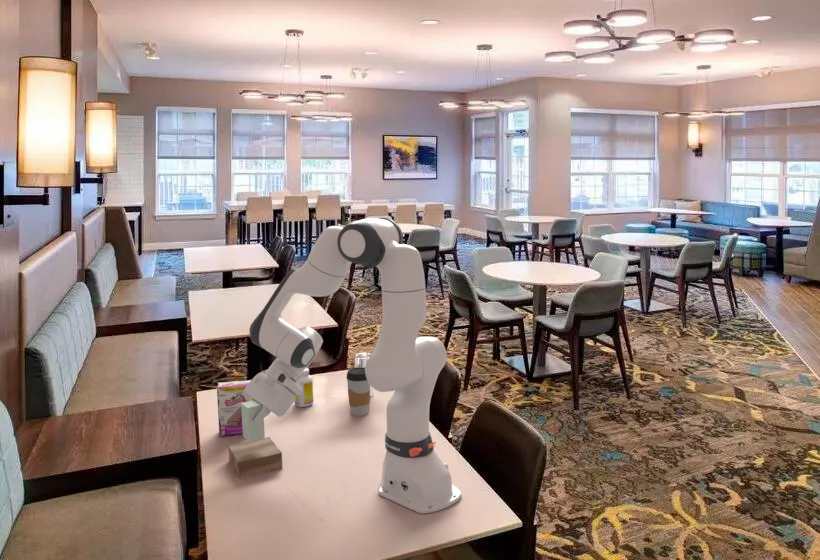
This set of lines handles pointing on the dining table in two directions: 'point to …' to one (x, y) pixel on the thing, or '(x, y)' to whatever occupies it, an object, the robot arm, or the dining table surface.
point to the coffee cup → (358, 391)
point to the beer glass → (362, 363)
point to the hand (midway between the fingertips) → (250, 418)
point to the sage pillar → (252, 421)
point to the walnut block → (255, 457)
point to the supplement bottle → (305, 390)
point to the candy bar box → (231, 406)
